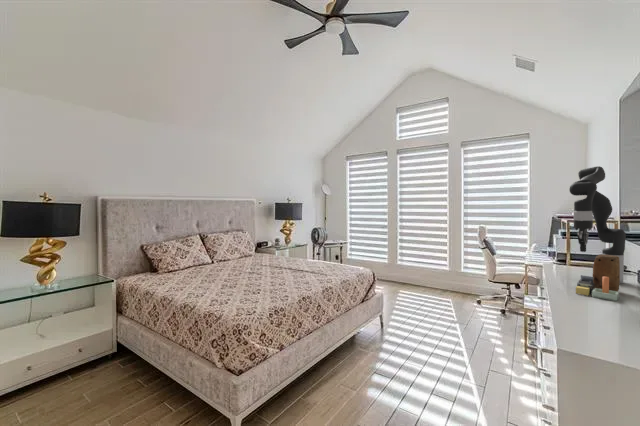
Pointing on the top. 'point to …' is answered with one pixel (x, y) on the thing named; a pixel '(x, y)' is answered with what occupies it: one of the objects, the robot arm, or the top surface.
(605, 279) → the pin
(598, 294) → the tray
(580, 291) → the block
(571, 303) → the top surface
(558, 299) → the top surface
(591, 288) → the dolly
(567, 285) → the top surface
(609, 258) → the brown rounded block
